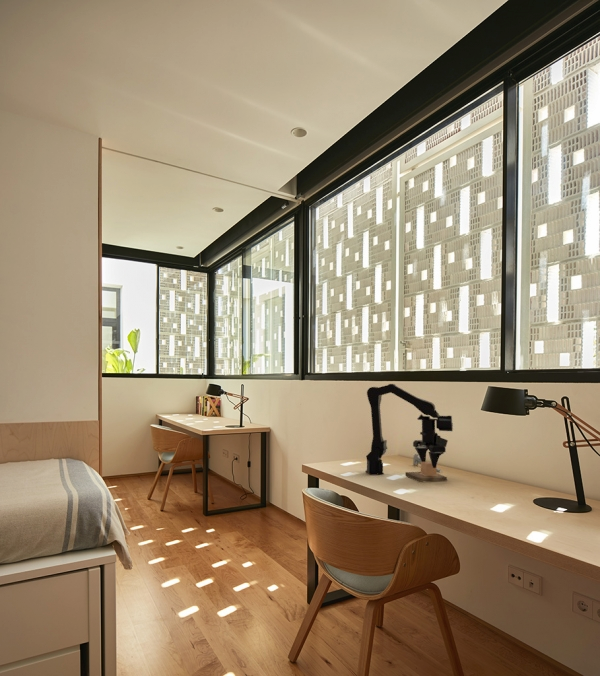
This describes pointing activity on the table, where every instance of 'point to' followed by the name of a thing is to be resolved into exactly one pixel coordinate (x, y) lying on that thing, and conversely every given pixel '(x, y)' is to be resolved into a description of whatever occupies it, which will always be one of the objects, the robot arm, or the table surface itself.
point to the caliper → (419, 461)
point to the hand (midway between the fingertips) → (429, 465)
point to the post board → (425, 477)
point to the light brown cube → (428, 469)
